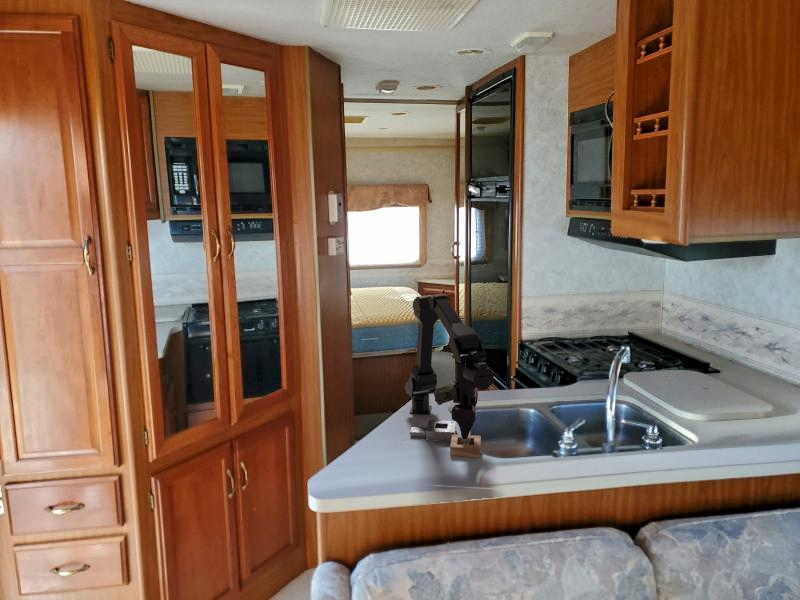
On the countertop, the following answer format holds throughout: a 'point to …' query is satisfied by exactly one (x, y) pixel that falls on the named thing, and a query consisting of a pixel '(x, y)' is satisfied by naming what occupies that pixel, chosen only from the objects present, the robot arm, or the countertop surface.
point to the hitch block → (436, 431)
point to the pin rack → (465, 446)
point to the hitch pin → (465, 440)
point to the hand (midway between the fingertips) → (465, 431)
